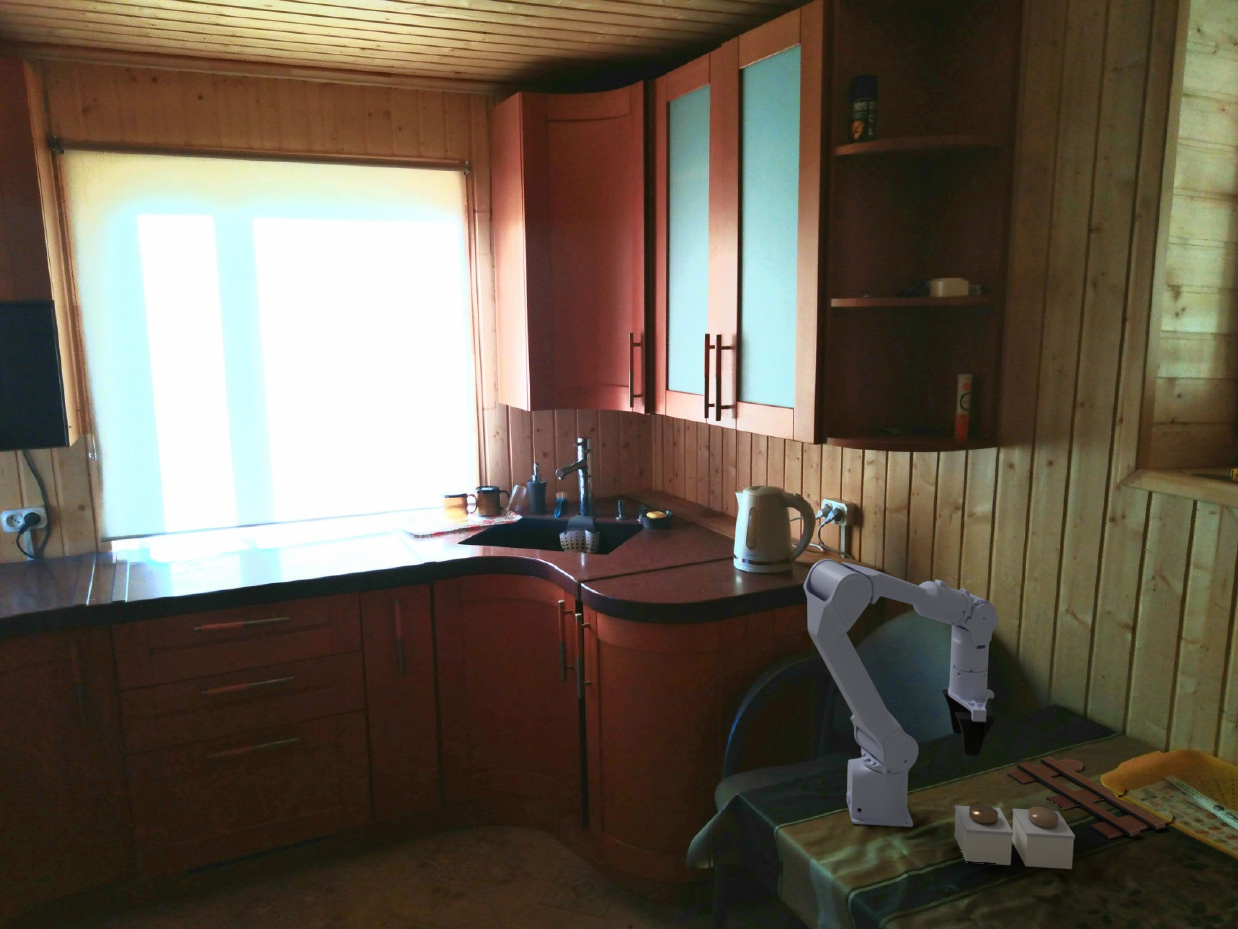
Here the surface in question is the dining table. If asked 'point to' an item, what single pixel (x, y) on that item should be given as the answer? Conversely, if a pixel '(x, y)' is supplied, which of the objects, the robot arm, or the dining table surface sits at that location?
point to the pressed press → (1042, 838)
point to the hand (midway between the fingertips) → (965, 743)
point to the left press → (983, 838)
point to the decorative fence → (1087, 797)
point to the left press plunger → (983, 814)
